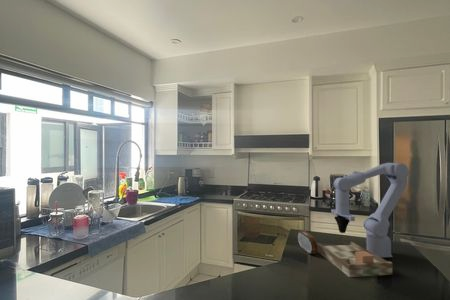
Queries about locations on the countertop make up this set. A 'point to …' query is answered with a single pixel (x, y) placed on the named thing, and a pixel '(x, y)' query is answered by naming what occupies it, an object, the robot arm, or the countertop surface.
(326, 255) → the mottled shallow tray
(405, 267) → the countertop surface
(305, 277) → the countertop surface
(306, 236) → the tin
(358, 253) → the block
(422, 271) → the countertop surface
